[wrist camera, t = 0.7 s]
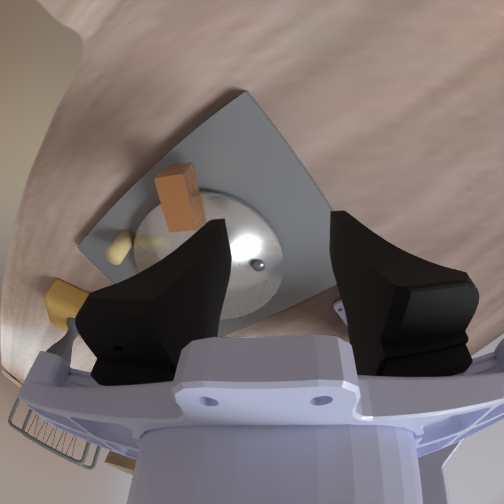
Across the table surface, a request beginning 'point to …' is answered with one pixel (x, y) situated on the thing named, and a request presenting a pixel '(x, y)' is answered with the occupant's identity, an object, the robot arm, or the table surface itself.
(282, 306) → the base board
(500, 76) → the table surface
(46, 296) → the rubber stamp
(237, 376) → the robot arm
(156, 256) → the flange plate
